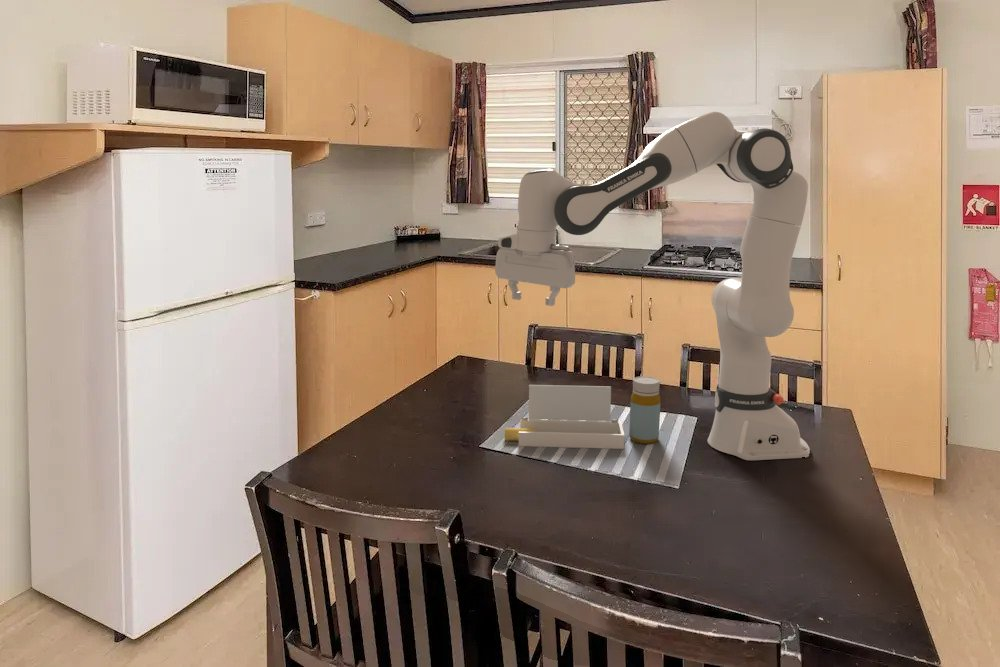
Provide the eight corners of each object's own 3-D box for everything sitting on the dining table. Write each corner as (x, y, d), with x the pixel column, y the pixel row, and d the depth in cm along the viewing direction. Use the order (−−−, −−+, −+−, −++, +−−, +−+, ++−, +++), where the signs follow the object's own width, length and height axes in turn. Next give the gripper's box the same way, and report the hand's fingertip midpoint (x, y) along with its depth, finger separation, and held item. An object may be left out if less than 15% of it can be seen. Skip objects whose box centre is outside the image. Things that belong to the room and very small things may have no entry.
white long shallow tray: (620, 434, 172) (621, 419, 172) (624, 448, 164) (624, 432, 163) (520, 432, 174) (520, 416, 174) (518, 446, 166) (518, 429, 165)
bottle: (658, 445, 166) (661, 385, 162) (628, 443, 167) (631, 383, 164) (658, 434, 172) (661, 376, 169) (629, 432, 174) (631, 375, 170)
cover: (610, 421, 171) (609, 420, 173) (611, 386, 171) (610, 386, 172) (528, 419, 173) (528, 418, 174) (529, 385, 172) (529, 384, 174)
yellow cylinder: (534, 441, 170) (534, 429, 171) (533, 440, 167) (534, 428, 168) (505, 440, 171) (505, 428, 172) (504, 439, 168) (504, 427, 169)
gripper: (582, 245, 155) (578, 307, 158) (508, 237, 167) (506, 294, 170) (567, 247, 150) (563, 311, 153) (492, 239, 162) (490, 297, 165)
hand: (532, 302), depth 162 cm, fingers open, 8 cm apart
